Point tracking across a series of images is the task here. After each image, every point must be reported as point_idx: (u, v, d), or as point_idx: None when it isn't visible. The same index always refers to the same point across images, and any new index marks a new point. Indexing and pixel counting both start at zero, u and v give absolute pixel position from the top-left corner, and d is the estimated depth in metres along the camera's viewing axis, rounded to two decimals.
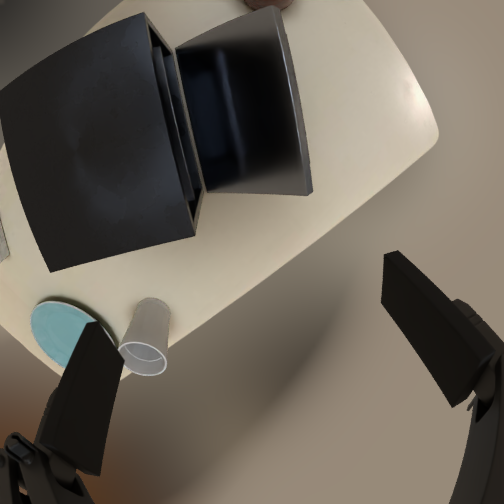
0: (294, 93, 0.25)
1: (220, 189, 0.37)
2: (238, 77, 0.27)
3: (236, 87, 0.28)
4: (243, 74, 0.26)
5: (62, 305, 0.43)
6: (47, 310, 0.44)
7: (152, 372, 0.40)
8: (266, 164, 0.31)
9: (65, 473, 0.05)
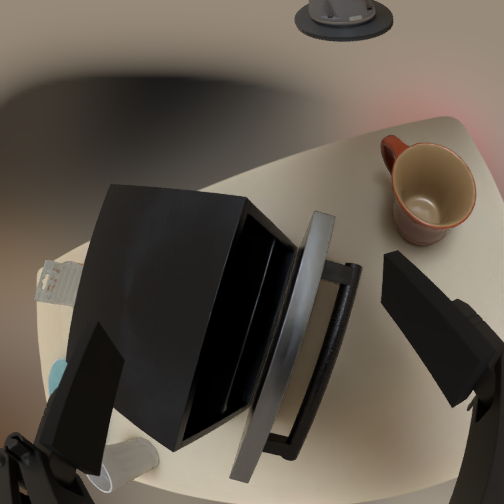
0: (281, 363, 0.18)
1: (248, 415, 0.29)
2: (283, 311, 0.24)
3: (280, 322, 0.25)
4: (284, 309, 0.24)
5: None
6: None
7: (97, 484, 0.26)
8: (247, 422, 0.22)
9: (65, 473, 0.05)
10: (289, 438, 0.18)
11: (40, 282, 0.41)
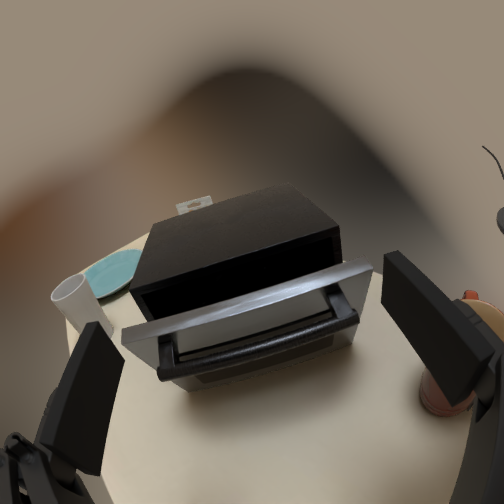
0: (246, 301, 0.22)
1: None
2: None
3: None
4: None
5: None
6: None
7: (54, 293, 0.40)
8: None
9: (65, 473, 0.05)
10: (180, 361, 0.21)
11: (191, 201, 0.64)
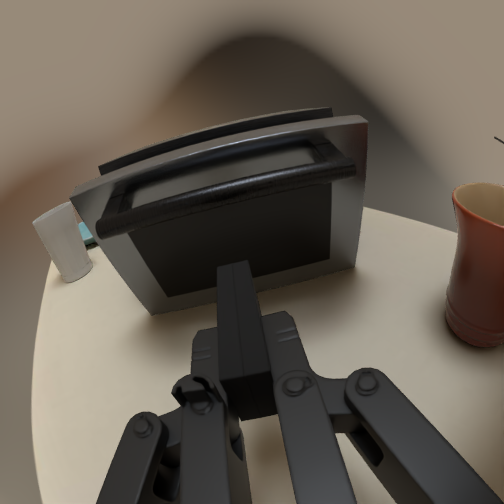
0: (214, 142, 0.17)
1: None
2: None
3: None
4: None
5: None
6: None
7: (38, 220, 0.37)
8: None
9: (235, 418, 0.08)
10: None
11: None
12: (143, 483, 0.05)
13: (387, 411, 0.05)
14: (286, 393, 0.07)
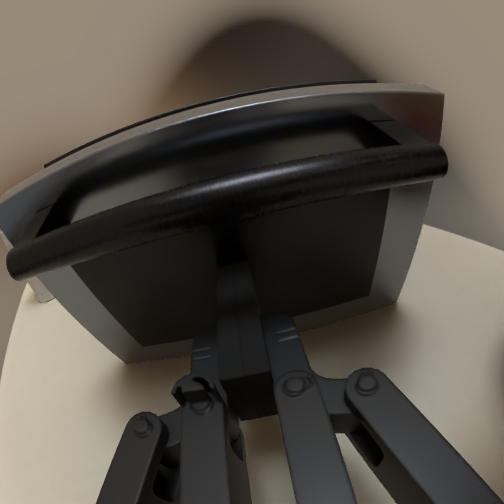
0: (198, 110, 0.09)
1: None
2: None
3: None
4: None
5: None
6: None
7: None
8: None
9: (235, 418, 0.08)
10: None
11: None
12: (143, 483, 0.05)
13: (387, 411, 0.05)
14: (286, 393, 0.07)
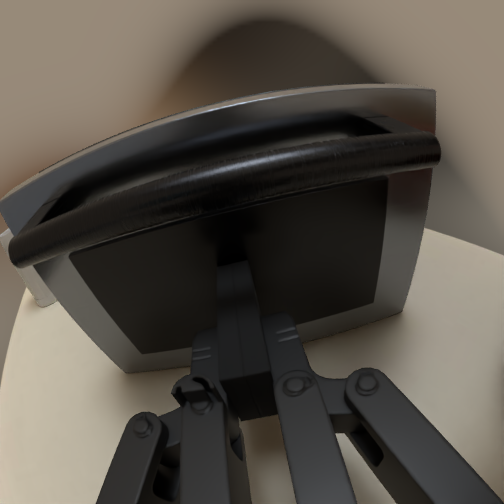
0: (198, 110, 0.10)
1: None
2: None
3: None
4: None
5: None
6: None
7: (6, 233, 0.28)
8: None
9: (235, 418, 0.08)
10: None
11: None
12: (143, 483, 0.05)
13: (387, 411, 0.05)
14: (286, 393, 0.07)
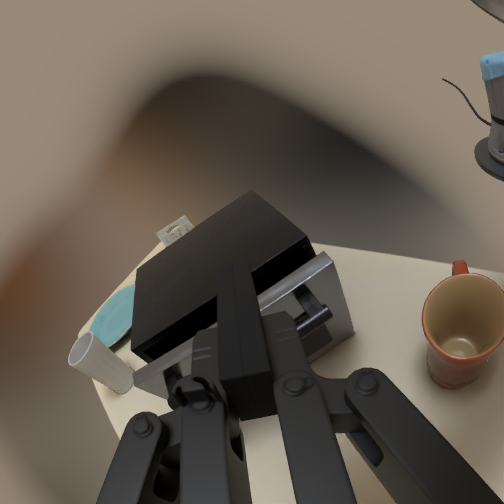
0: None
1: None
2: None
3: None
4: None
5: None
6: None
7: (71, 357, 0.41)
8: None
9: (235, 418, 0.08)
10: None
11: (169, 226, 0.64)
12: (143, 483, 0.05)
13: (387, 411, 0.05)
14: (286, 393, 0.07)
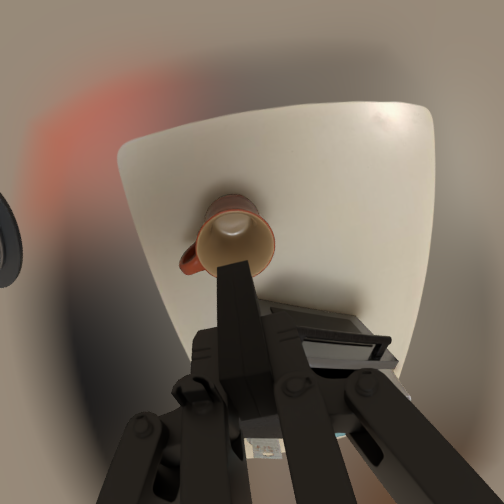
0: (340, 365, 0.34)
1: None
2: None
3: None
4: None
5: None
6: None
7: None
8: None
9: (235, 418, 0.08)
10: (378, 344, 0.37)
11: (269, 457, 0.58)
12: (143, 483, 0.05)
13: (387, 411, 0.05)
14: (286, 393, 0.07)
